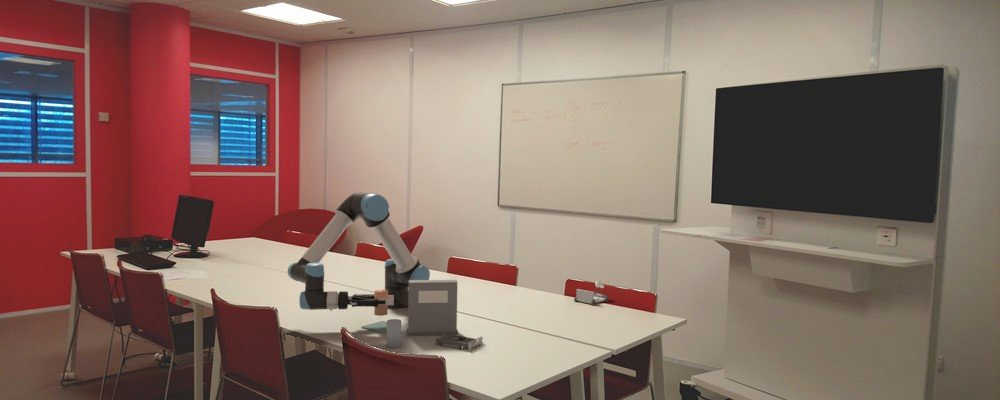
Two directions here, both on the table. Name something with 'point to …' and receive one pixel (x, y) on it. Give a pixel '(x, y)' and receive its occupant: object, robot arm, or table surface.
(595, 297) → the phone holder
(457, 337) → the graphics card
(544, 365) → the table surface
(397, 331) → the slate cartridge
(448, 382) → the table surface
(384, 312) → the cylinder
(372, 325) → the green mat
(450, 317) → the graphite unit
